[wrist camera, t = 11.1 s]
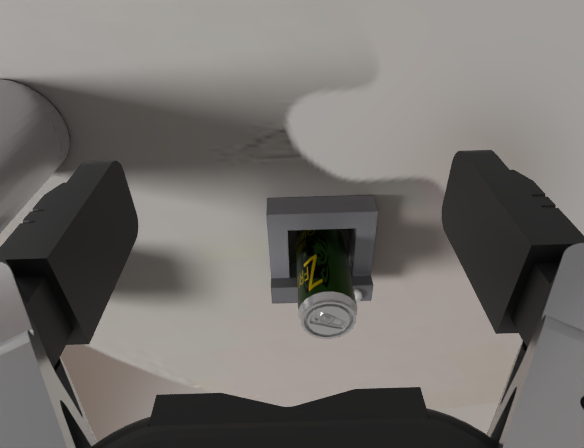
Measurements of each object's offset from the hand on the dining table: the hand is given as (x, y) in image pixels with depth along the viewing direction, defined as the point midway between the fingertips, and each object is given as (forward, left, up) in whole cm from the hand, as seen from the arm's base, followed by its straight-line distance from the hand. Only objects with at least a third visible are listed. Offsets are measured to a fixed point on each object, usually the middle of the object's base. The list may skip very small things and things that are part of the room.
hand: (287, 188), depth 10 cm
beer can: (+3, -24, -28) cm, 37 cm away
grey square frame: (+3, -24, -28) cm, 37 cm away
